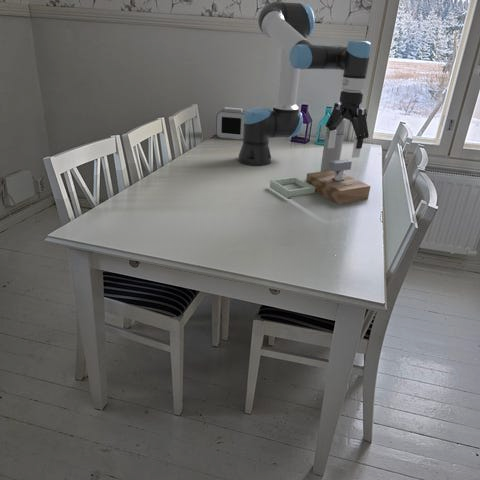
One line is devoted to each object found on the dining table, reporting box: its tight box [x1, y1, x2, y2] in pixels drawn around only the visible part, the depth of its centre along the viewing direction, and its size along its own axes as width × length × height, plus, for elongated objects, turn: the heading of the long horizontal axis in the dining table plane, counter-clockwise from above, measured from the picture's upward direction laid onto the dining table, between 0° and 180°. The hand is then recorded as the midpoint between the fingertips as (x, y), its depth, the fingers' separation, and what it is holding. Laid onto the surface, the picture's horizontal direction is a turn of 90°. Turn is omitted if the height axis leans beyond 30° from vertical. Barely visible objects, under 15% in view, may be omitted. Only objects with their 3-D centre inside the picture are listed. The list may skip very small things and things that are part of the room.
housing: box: [305, 171, 371, 205], centre depth 158 cm, size 20×14×6 cm
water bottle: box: [319, 118, 347, 172], centre depth 170 cm, size 9×8×25 cm
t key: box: [329, 159, 353, 182], centre depth 157 cm, size 3×8×12 cm, turn 118°
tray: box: [269, 176, 316, 200], centre depth 160 cm, size 13×12×3 cm
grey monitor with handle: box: [215, 106, 247, 141], centre depth 231 cm, size 16×11×16 cm
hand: (342, 152), depth 152 cm, fingers open, 13 cm apart
